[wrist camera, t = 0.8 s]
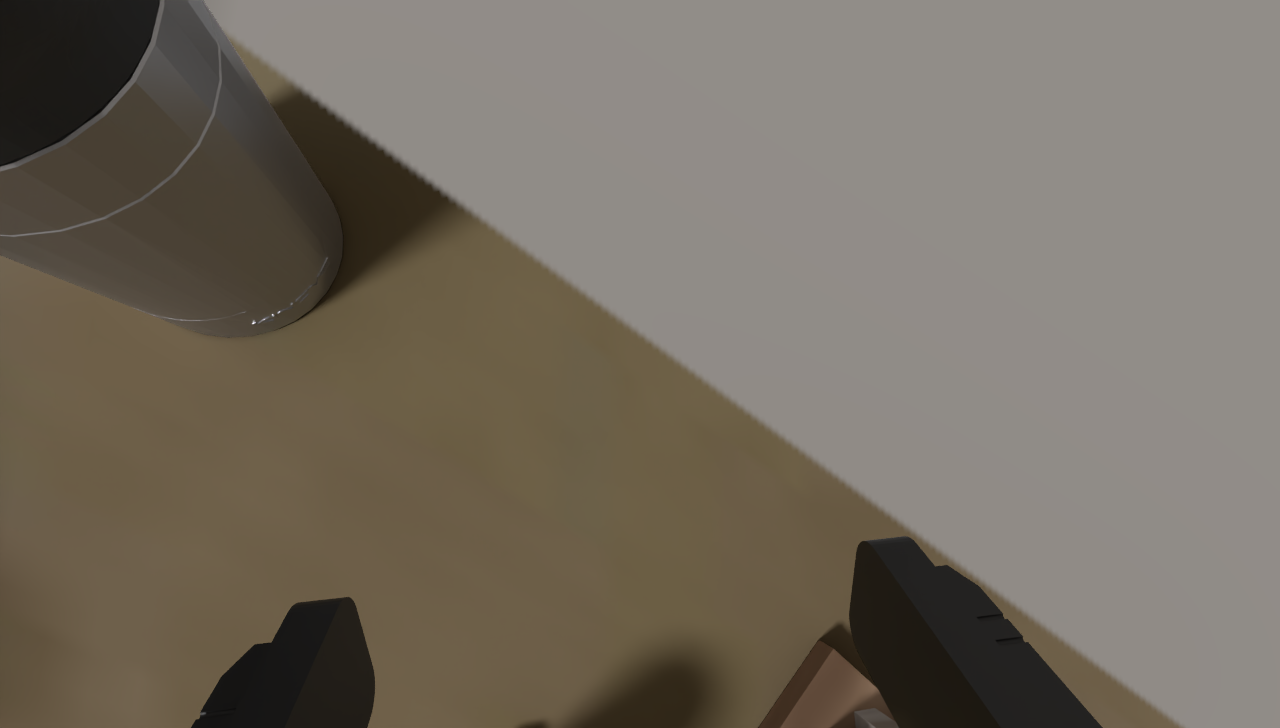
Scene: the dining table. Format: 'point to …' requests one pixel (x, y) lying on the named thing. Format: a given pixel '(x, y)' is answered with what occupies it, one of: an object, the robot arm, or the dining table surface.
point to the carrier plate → (829, 696)
